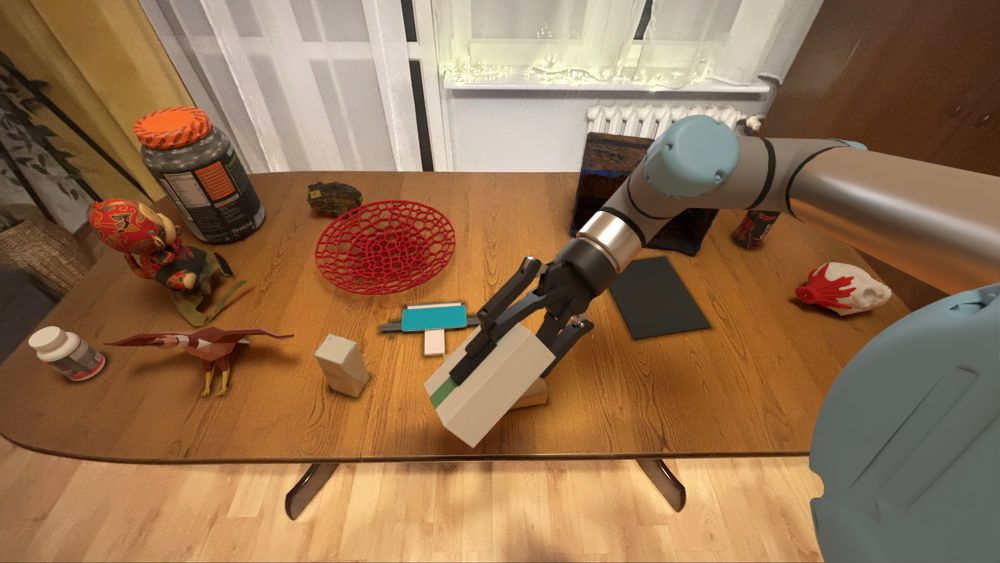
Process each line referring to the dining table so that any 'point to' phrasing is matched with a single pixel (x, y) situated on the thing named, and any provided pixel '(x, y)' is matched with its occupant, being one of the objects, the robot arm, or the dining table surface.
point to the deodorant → (754, 228)
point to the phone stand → (432, 322)
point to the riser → (527, 392)
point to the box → (342, 365)
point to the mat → (655, 300)
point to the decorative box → (609, 169)
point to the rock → (334, 198)
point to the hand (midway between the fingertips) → (469, 392)
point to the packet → (487, 383)
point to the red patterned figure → (160, 253)
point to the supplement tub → (199, 173)
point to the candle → (843, 289)
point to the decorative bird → (201, 346)
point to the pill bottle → (67, 353)
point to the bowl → (385, 249)
